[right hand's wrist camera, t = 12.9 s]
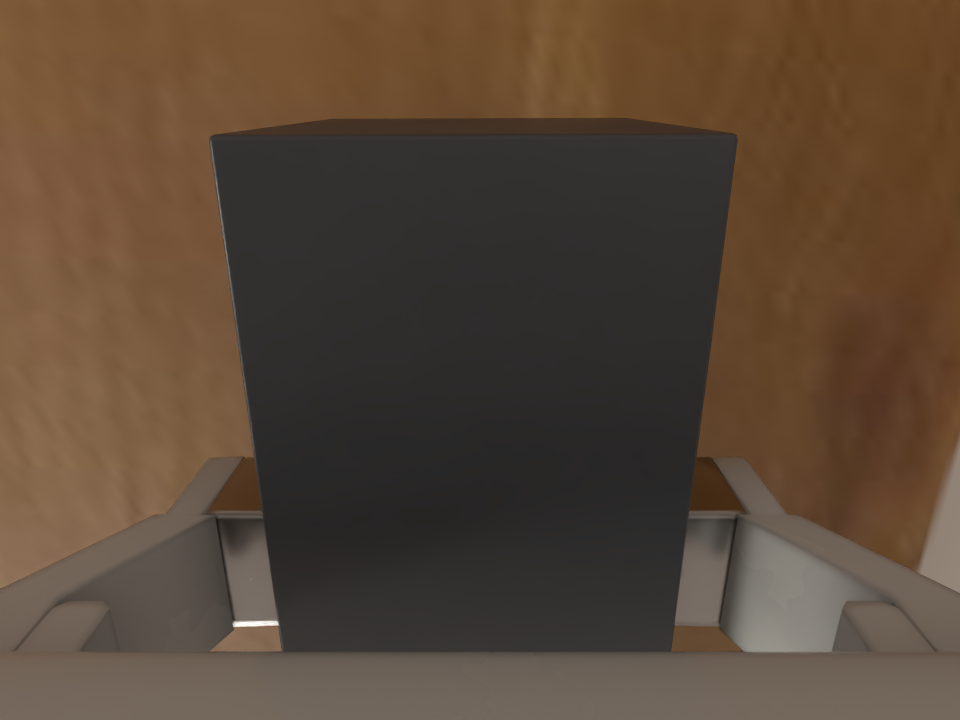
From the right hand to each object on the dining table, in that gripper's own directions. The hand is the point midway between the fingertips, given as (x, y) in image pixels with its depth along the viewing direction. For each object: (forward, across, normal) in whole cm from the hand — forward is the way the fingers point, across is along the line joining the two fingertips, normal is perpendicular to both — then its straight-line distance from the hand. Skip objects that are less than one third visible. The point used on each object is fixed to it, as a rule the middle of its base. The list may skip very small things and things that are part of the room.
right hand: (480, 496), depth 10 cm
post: (+3, 0, -21) cm, 21 cm away
